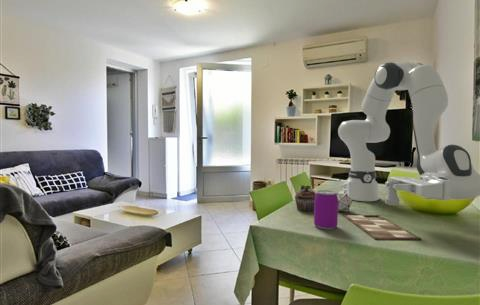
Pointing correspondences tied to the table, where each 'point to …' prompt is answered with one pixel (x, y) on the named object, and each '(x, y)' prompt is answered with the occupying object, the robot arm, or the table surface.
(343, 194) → the game die
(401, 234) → the board
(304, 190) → the cupcake
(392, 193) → the rook chess piece
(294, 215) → the table surface
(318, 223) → the beverage can
